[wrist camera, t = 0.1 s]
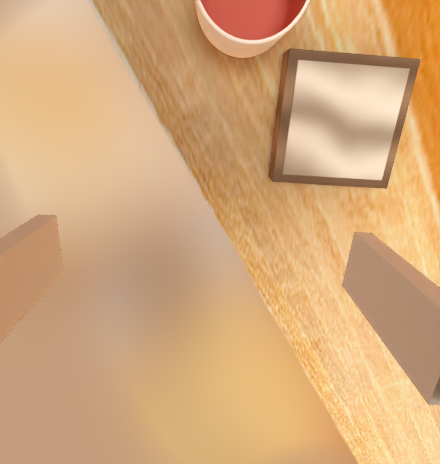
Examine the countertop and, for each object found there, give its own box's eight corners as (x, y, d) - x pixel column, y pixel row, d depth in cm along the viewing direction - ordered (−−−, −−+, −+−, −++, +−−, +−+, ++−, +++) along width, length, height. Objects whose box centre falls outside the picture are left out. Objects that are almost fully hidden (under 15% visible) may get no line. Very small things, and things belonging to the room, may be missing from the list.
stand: (283, 52, 36) (290, 48, 33) (404, 62, 37) (421, 58, 34) (268, 176, 41) (273, 181, 38) (375, 182, 42) (387, 189, 39)
